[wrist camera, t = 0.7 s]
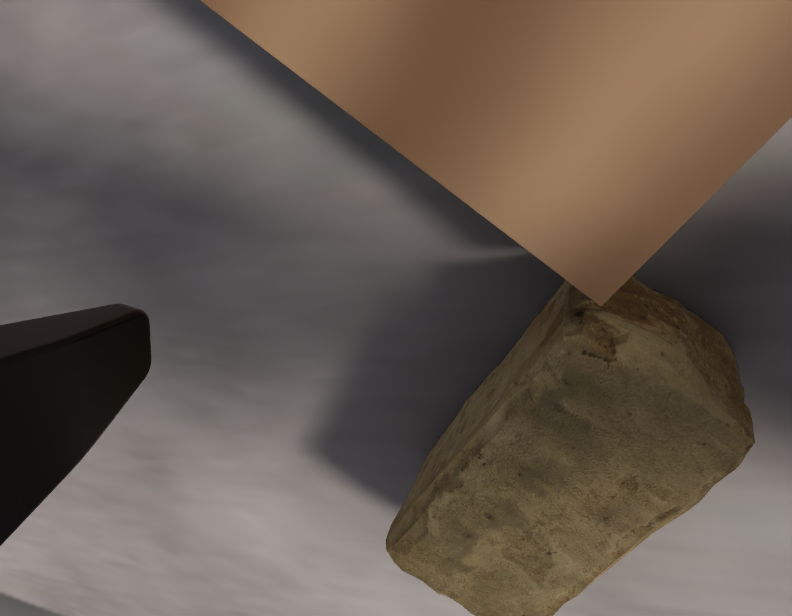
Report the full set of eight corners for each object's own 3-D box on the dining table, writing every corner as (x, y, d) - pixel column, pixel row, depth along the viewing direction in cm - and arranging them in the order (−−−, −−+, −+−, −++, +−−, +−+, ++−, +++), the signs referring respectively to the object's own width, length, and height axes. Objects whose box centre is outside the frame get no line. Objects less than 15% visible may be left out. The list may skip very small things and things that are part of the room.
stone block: (410, 467, 26) (366, 563, 22) (590, 232, 20) (578, 300, 16) (538, 551, 26) (518, 664, 22) (758, 338, 20) (791, 437, 16)
